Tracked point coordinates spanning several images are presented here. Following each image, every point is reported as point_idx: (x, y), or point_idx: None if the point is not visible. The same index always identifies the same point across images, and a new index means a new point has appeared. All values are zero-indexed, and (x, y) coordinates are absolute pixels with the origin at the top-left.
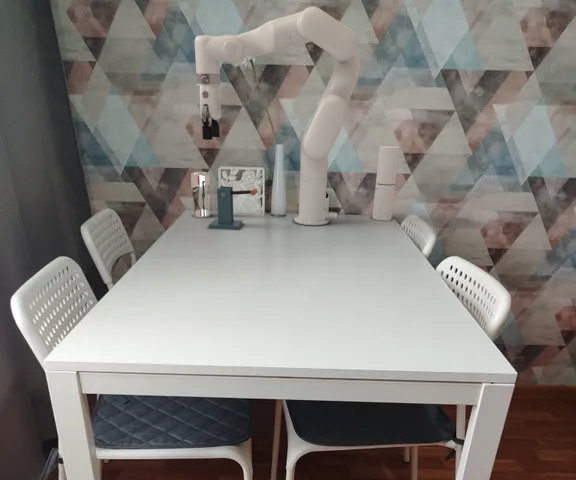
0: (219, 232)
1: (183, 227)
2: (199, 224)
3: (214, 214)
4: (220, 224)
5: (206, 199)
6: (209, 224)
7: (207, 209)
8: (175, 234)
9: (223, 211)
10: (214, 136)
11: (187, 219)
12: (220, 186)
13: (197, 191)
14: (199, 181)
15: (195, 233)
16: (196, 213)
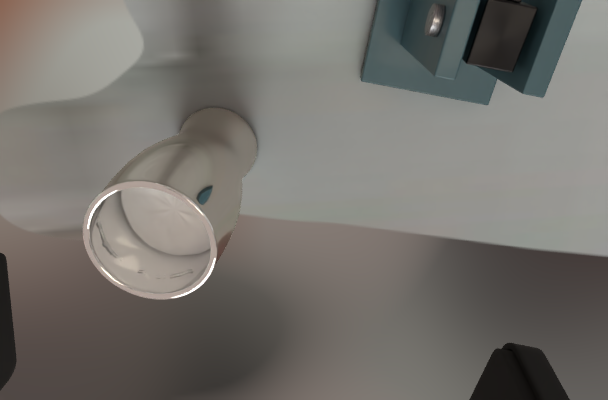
0: (575, 46)
1: (451, 211)
2: (397, 149)
3: (175, 88)
4: None
5: (229, 148)
6: (482, 103)
7: (231, 129)
8: (573, 232)
9: None
10: (7, 318)
11: (297, 205)
12: (448, 73)
13: (239, 212)
14: (230, 226)
15: (572, 156)
16: (244, 176)
